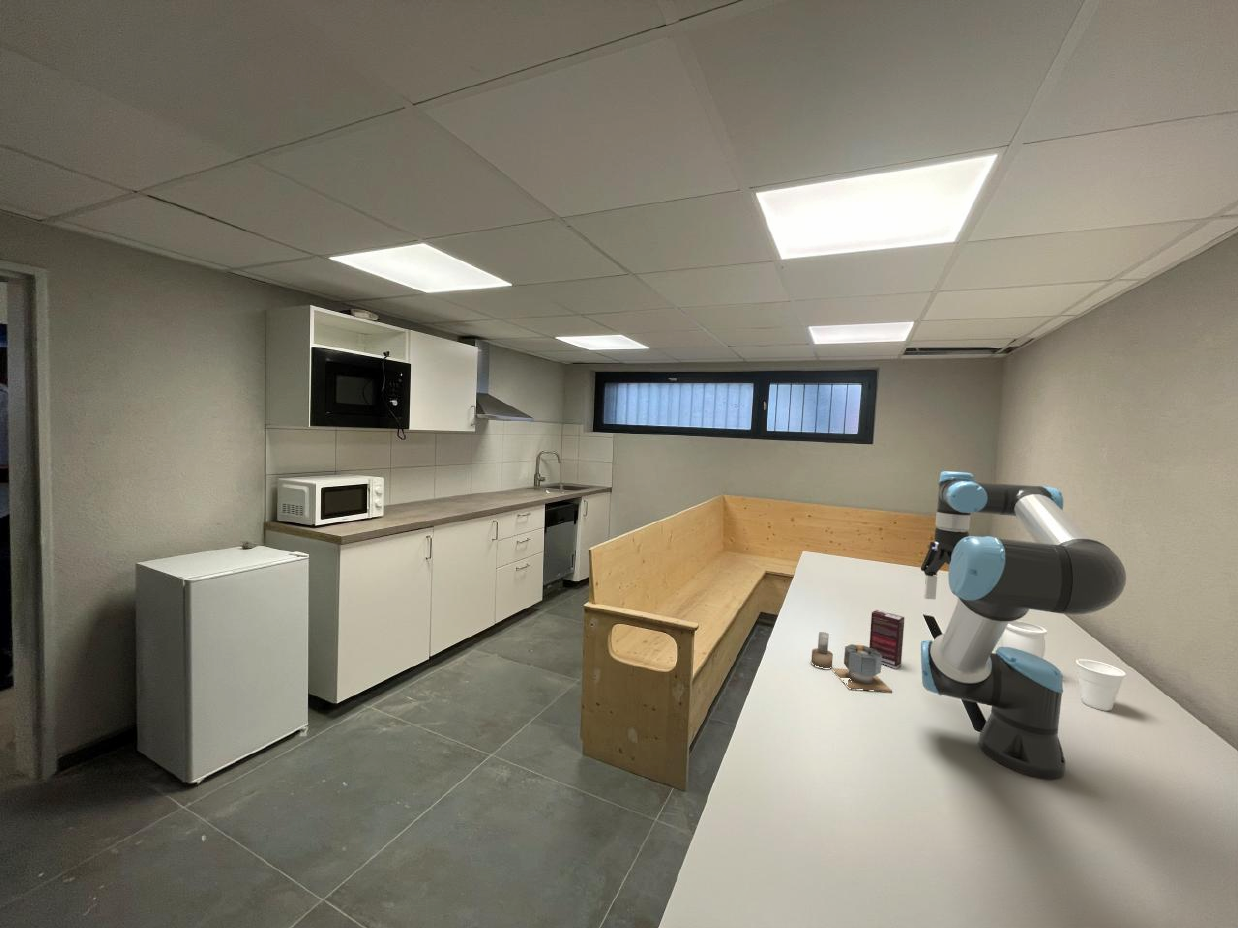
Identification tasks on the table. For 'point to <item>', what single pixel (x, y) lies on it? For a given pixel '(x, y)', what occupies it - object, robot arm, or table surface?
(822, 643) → the stand
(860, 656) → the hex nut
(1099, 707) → the cup
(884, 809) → the table surface
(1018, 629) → the jar
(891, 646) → the supplement box
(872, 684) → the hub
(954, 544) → the robot arm
